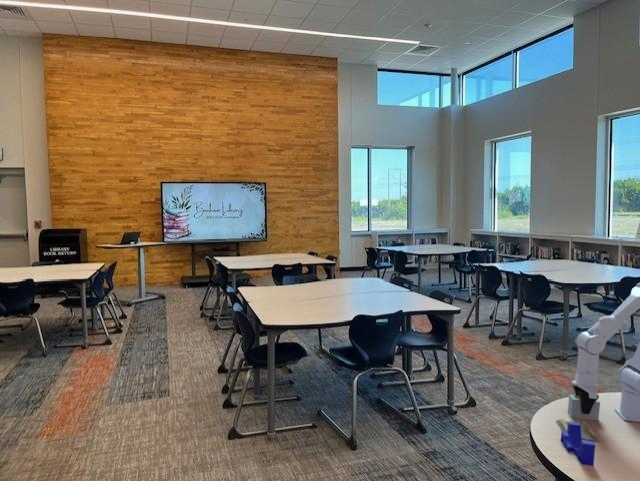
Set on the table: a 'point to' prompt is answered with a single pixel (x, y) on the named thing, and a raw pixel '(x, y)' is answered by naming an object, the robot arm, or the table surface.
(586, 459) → the cable clip
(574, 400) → the bar
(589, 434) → the guide rails
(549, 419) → the table surface
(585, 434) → the guide mat
